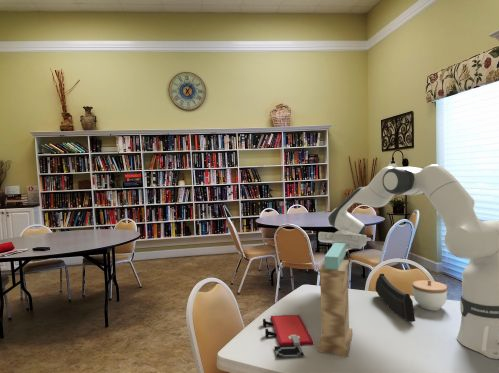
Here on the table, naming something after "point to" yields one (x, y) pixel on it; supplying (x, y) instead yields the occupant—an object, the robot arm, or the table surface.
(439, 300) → the lidded bowl
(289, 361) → the table surface
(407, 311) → the magazine
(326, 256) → the rod
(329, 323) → the pedestal
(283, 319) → the red board with handle
